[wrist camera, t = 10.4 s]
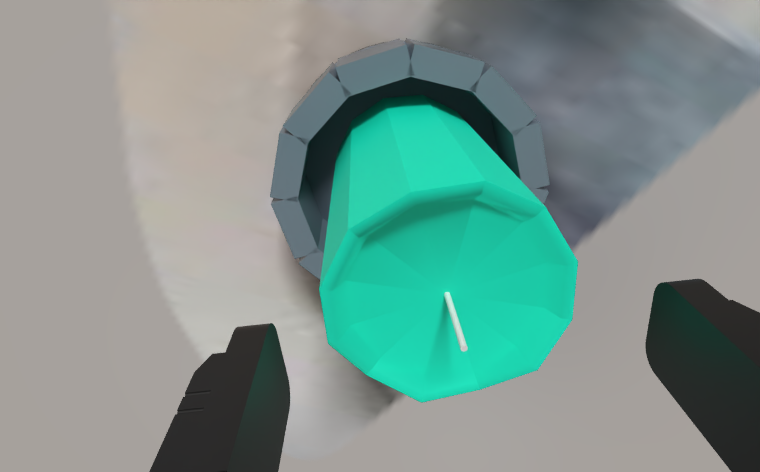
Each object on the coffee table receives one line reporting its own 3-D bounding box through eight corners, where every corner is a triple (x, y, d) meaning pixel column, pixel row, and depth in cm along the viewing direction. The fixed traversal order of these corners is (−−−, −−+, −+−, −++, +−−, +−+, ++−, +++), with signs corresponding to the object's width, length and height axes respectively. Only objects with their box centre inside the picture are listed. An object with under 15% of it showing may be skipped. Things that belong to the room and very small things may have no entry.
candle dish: (490, 6, 19) (522, 6, 15) (530, 228, 23) (562, 269, 20) (250, 84, 20) (226, 102, 16) (331, 285, 24) (327, 334, 20)
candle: (313, 124, 20) (260, 272, 9) (456, 71, 19) (590, 161, 8) (364, 248, 22) (373, 483, 11) (492, 205, 21) (631, 411, 11)
